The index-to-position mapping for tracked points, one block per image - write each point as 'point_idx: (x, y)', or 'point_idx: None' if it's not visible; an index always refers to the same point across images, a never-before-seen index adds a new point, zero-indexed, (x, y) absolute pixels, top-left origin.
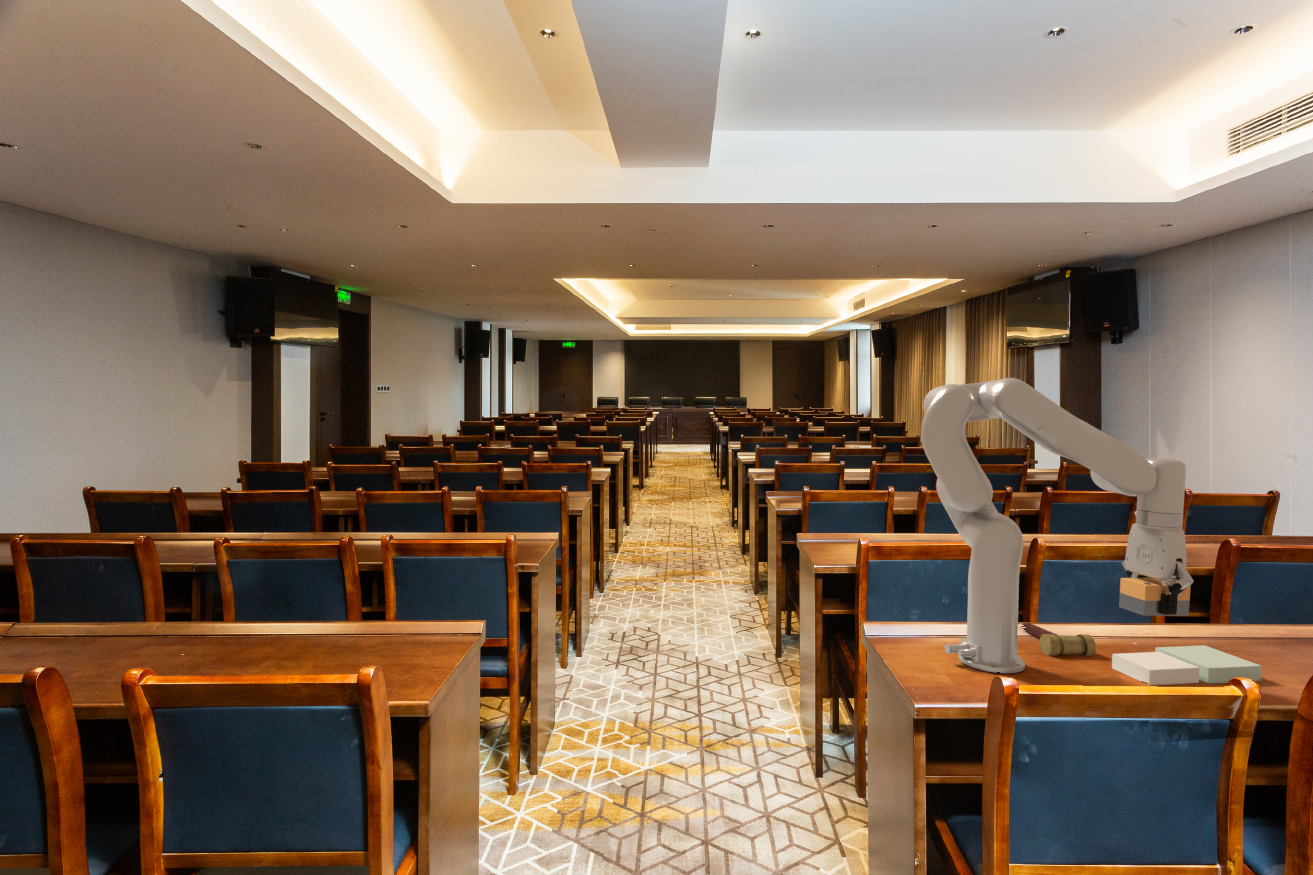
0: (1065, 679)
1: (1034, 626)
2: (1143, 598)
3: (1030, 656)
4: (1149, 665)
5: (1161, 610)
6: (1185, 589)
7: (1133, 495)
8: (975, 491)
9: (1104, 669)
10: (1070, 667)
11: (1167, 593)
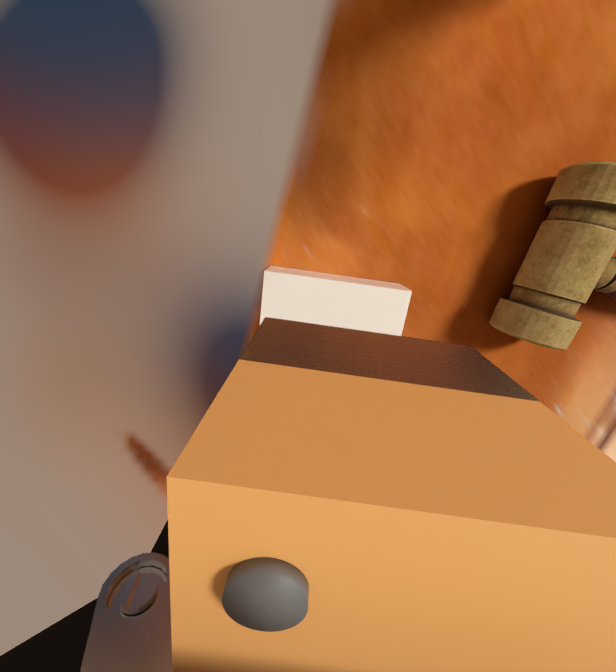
0: (379, 15)
1: None
2: (253, 370)
3: (589, 90)
4: (296, 308)
5: None
6: None
7: None
8: None
9: (399, 251)
10: (452, 150)
11: (148, 575)
